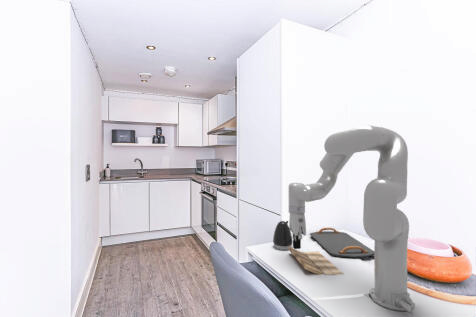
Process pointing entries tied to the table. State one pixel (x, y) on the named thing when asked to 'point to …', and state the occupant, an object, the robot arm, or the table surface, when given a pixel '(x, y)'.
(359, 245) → the serving board
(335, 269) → the laid boards
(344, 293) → the table surface
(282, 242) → the pump dispenser
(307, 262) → the plank
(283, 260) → the table surface
